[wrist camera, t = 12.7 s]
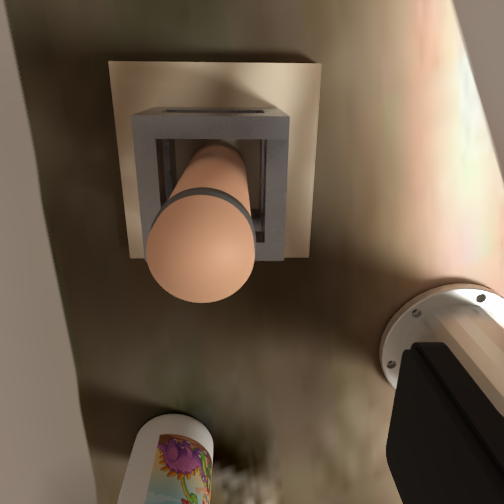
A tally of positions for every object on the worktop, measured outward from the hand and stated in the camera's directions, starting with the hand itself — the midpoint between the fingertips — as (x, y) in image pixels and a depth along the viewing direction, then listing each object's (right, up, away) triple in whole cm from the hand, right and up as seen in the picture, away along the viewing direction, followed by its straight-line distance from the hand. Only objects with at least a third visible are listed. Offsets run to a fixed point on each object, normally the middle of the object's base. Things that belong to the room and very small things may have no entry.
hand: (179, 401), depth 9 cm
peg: (-1, +9, +22) cm, 23 cm away
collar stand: (-1, +10, +23) cm, 25 cm away
